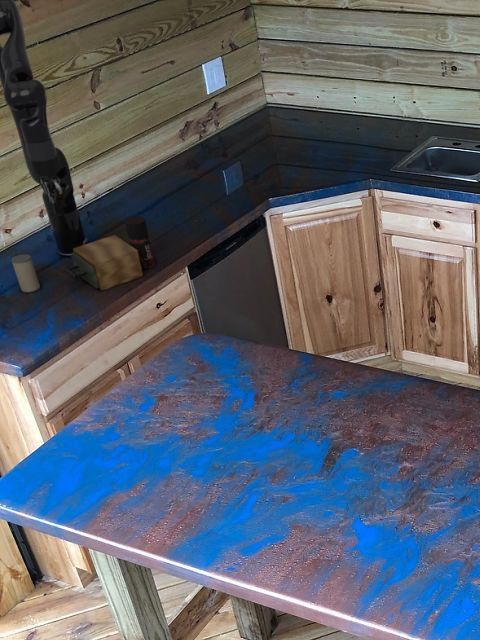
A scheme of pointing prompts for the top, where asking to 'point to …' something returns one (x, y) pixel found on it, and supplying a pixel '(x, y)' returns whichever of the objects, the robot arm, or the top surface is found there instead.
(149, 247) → the deodorant
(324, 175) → the top surface
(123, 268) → the cabinet
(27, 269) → the tin can
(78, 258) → the drawer
